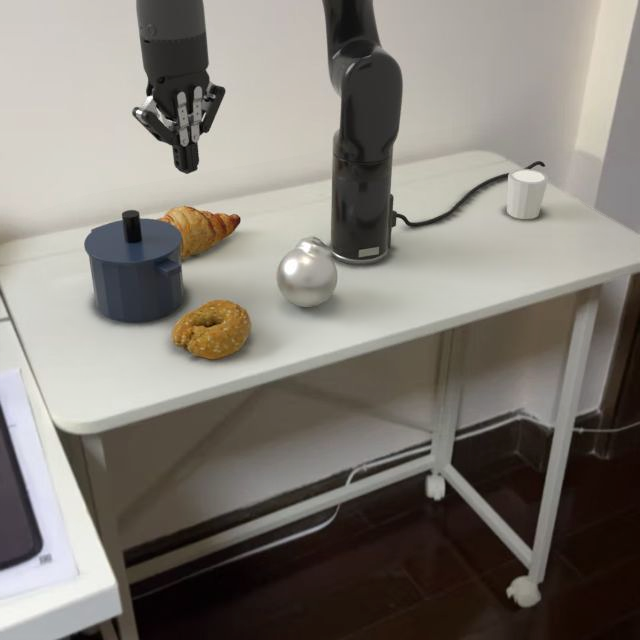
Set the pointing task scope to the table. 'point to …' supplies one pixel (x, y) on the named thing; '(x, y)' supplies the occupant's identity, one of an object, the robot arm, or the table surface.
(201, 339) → the bagel
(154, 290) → the pot
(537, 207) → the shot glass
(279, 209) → the table surface
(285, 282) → the silver round bulb
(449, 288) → the table surface
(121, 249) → the pot lid
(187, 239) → the croissant
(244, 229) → the table surface
